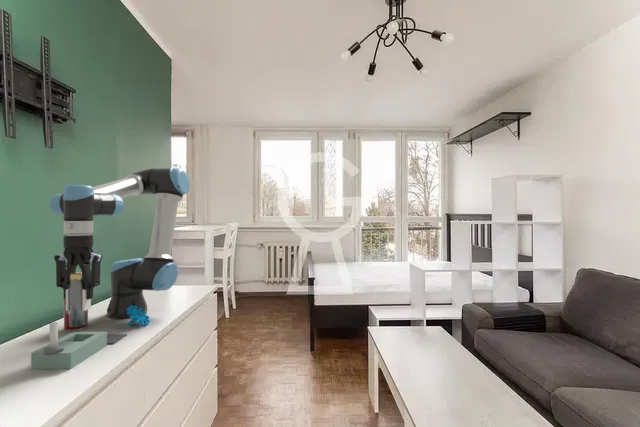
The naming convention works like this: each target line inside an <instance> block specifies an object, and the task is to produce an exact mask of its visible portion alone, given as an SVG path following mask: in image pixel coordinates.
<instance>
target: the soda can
mask: <svg viewBox="0 0 640 427" xmlns="http://www.w3.org/2000/svg"><path fill="white" fill-rule="evenodd" d="M88 325H89V309H88V310H87V324H85V325H83V326H78V327H70V326H69V311H66V299H64V298H63V330H64V331H66V332H79V331H80V330H84V329H86V328H87V327H88Z"/></svg>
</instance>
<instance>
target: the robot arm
mask: <svg viewBox="0 0 640 427" xmlns="http://www.w3.org/2000/svg"><path fill="white" fill-rule="evenodd" d="M190 185H191V184H190V178H189V175H188V173H187V172H186V171H185V170H184V169H182V168H176V167H175V168H174V167H171V168H170V167H169V168H168V167H167V168H166V167H165V168H163V167H162V168H147V169H146V168H145V169H144V170H140V171H137V172H133V173H130V174H127V175H125V176H124V178H121V179H117V180H113V181H110V182H105V183H103V184H100V185H99V184H98V185H95V186H91V185H85V184H67V185H66V186H64V189H63V193H57V194H55V195H54V196H52V197H51V199H50V201H49V202H50V203H49V205H50V208H51V211H52V212H53V213H54V214H55V215H58V216H63V234H64V236H63V248H64V250H63V253H61V254H57V255H54V257H53V258H54V261H55V267H56V268H55V271H56V272H55V275H56V276H55V278H56V281H55V282H56V284H55V285H56V287H57V288H61V289H62V290H63V297H62V298H63V300H64V299H66V311H69V289H70V274H71V273H76V269H77V267H79V269H80V272H82V276H83V280H84V285H85V288H84V289H83V290H82V311H85V310H88V311H89V310H90V309H91V308H92V303H91V302H92V299H93V298H94V288H96V287H98V286H100V284H101V262H102V259H103V255H102V254H98V253H95V252H94V249H93V246H94V235H93V233H94V216H100V217H101V216H107V217H109V216H110V217H112V216H118V215H119V214H121V213H122V211H123V210H124V199H125V198H127V197H130V196H133V197H136V196H140V195H153V196H154V197H155V198H156V204H155V205H156V206H155V212H154V220H153V225H152V232H151V237H150V243H149V244H150V246H149V251H148V253H147V255H145V256H144V258H141V257H139V258H130V259H124V260H118V261H115V262H113V263H112V265H111V271H110V277H111V278H110V281H111V284H110V285H111V286H110V287H111V289H110V290H111V292H110V293H111V297H110V301H109V303H108V306H107V309H106V317H107V318H109V319H130V316H131V315H128V314H127V312H128V311H127V309H128V308H129V306H130V305H132V306H133V307H134V306H137V308H136V309H137V310H138V309H139V308H142V311H141V312H144V311H145V310H146V311H147V312H148V304H147V301H146V298H145V296H144V293H143V292H144V291H155V292H159V291H167V290H170V289H171V288H172V287H173V286H174V284H176V281H177V279H178V276H179V268H178V265H177V264H176V263H174V262H175V259H174V257H173V256H172V249H173V243H174V242H173V241H174V234H175V228H176V220H177V215H178V207H179V202H181V201H183V197H184V195H186V194H188V193H189V191H190V187H191V186H190ZM66 260H67V261H66ZM133 309H134V308H133Z"/></svg>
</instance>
